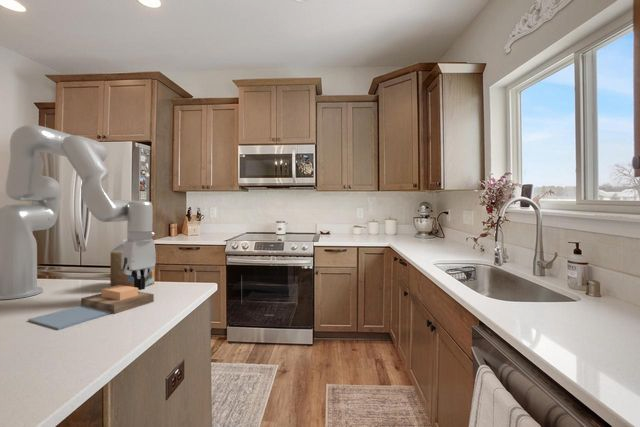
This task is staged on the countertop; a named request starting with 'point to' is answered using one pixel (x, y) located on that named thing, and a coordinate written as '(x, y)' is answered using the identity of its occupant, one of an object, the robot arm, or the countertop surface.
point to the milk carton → (118, 273)
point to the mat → (69, 317)
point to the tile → (119, 292)
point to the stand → (117, 302)
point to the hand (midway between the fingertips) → (139, 289)
